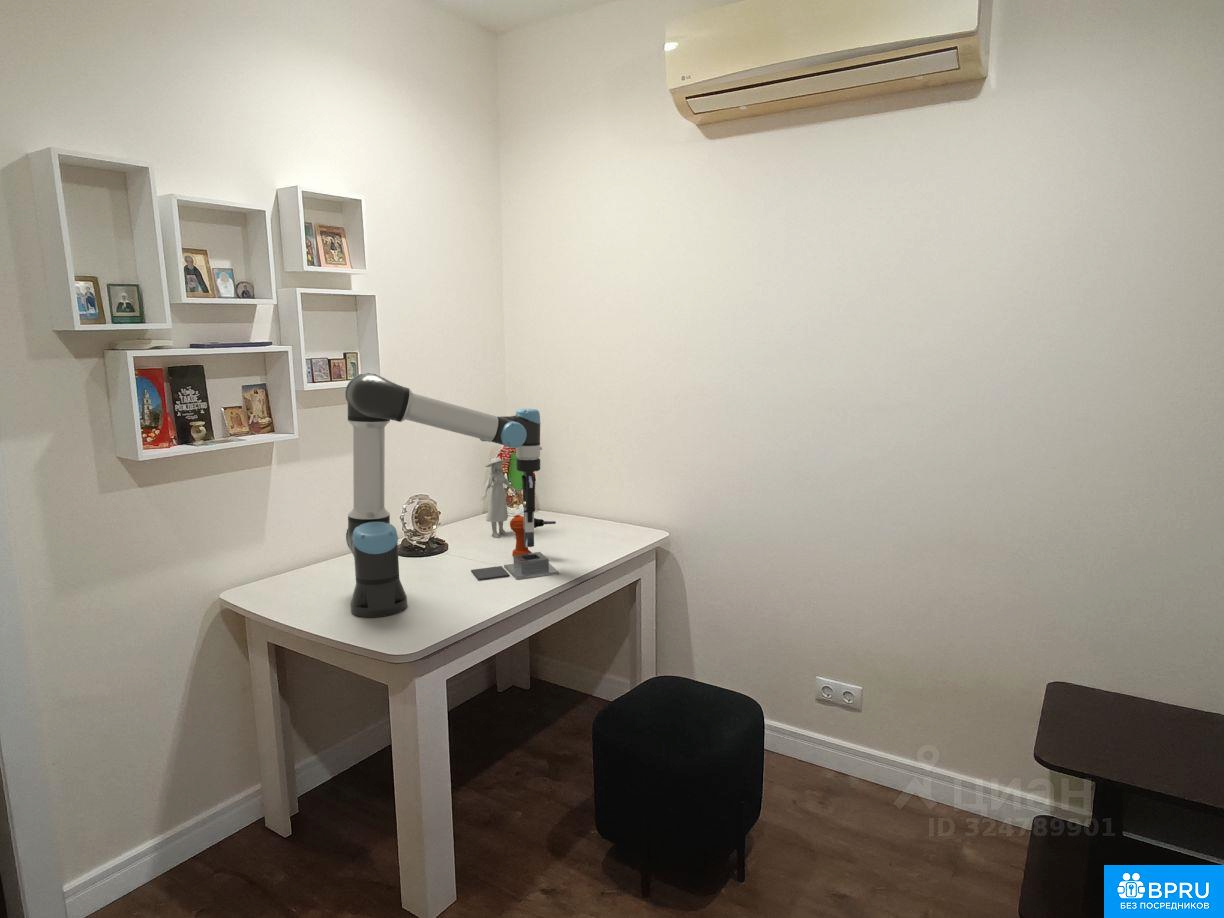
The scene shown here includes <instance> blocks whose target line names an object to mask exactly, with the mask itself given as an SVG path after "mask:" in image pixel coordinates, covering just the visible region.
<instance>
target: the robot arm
mask: <svg viewBox="0 0 1224 918" xmlns="http://www.w3.org/2000/svg"><path fill="white" fill-rule="evenodd" d="M344 396H345V400H346V402H347V422H348V423H349V424H351V426H352V429H353V433H352V435H353V436H352V437H353V440H352V441H353V442H352V443H353V445H352V446H353V447H352V448H353V450H352V451H353V459H352V461H353V465H352V467H353V475H352V476H353V508H352V509H351V511H350V512H348V514H347V529H346V533H345V540H346V545H347V547H348V548H349V550H350V551H351V554H352V555H353V558H354V571H355V572H354V573H355V586H354V590H353V593H352V597H351V600H350V611H351V614H353V615H355V616H357V617H363V618H380V617H386V616H391V615H395V614H398V613H400V612H402V611H404V610H405V609H406V608H407V607H408V598H407V594H406V592H405V589H404V587H403V585H402V582H401V578H400V567H399V547H398V545H399V543H398V542H399V536H398V532H397V529H396V527H395V526H394V525H393V524H391V521H390V520H391V519H390V518H391V517H390V512H389V511H388V510H387V509H386V507H385V465H386V464H385V455H386V454H385V453H386V451H385V443H386V442H385V439H386V438H385V431H386V429H385V427H386V426H387V425H388V424H389V423H390V422H391V421H395V422H397V423H402V422H404V421H410V422H413V423H417V424H418V423H419V424H422V425H425V426H428V427H433V428H436V429H440V430H444V431H449V432H453V433H455V434H461V435H464V436H467V437H472V438H476V439H479V440H480V441H481V442H489V443H494V444H498V445H502V446H505V447H507V448H512V449H515V457H516V464H515V465H516V470H517V471H518V472H522V473H523V474H522V475H521V481H522V485H521V487H522V502H523V501H526V511H524V510H523V514H524V513H525V532H534V533H535V528H534V518H535V511H536V476H535V475H534V472H538V471H540V470H541V459H540V457H541V451H542V450H543V447H541V414H540V411H539V410H538V409H536V408H518V409H517V410H515V415H511V416H508V415H507V416H506V415H505V416H496V415H493V414H489V413H487V412H486V413H485V412H482V411H478V410H474V409H471V408H467V407H463V406H460V405H457V404H453V403H450V402H447V401H442V400H439V399H435V398H431V397H428V396H424V395H421V394H417V393H414V392H412V390H411V388H409V387H406V386H403V385H400V384H398V383H396V382H392V381H390V380H388V379H386V378H385V377H383V376H380V375H378V374H376V373H370V372H367V373H366V372H364V373H360V374H358V375H356V376H354V377H353V378H351V380H349V382H348V383H347V385H346V388H345V395H344ZM522 506H523V505H522ZM523 509H524V506H523Z"/></svg>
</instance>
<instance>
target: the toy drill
mask: <svg viewBox="0 0 1224 918" xmlns="http://www.w3.org/2000/svg"><path fill="white" fill-rule="evenodd" d="M556 523H557V522H556V521H555V520H544V519H542V518H536V517H534V529H537V528H539V527H543V526H544V525H556ZM509 527H510V529H511V530H512V531H513V532H514V533H515V534H514V535H515V540H516V541H515V548H514V549H513V550H512V553H511V554H512V557H513V555H519V554H527V553H533V552H532V551H531V550H529V549H528V548H529V547H525V546H524V515H520V514H516V515H514V517H512V519H510V521H509Z"/></svg>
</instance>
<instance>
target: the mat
mask: <svg viewBox="0 0 1224 918" xmlns="http://www.w3.org/2000/svg"><path fill="white" fill-rule="evenodd" d="M470 571H471V572H470V573H472V574H473V576H474V577H475V579H476V580H477V581H484V580H485V581H487V580H493V579H500V578H501V579H502V578H507V577H509V576H510V575H511V574H510V573H509V572H508V571H507V570H506V569H505V567H503V566H502V565H498V566H490V567H483V568H475V569H474V568H473V569H471V570H470Z"/></svg>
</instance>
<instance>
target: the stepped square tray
mask: <svg viewBox="0 0 1224 918" xmlns="http://www.w3.org/2000/svg"><path fill="white" fill-rule="evenodd" d="M512 557H513V563H510V564H504V567H503V568H504V569H505V570H506V571H507V572H508V573H509V574H510V575H511V577H513V578H514V579H515V580H523V579H534V578H537V577H538V578H539V577H546V576H553V575H559V574H560V572H559V570H558V569H557V568H555V567H554V566H553V565H552V564H550V562H549V561H550V559H549V558H548V557H546V555H544V553H542V552H541V551H535V552H532V553H527V554H519V555H513V556H512Z"/></svg>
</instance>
